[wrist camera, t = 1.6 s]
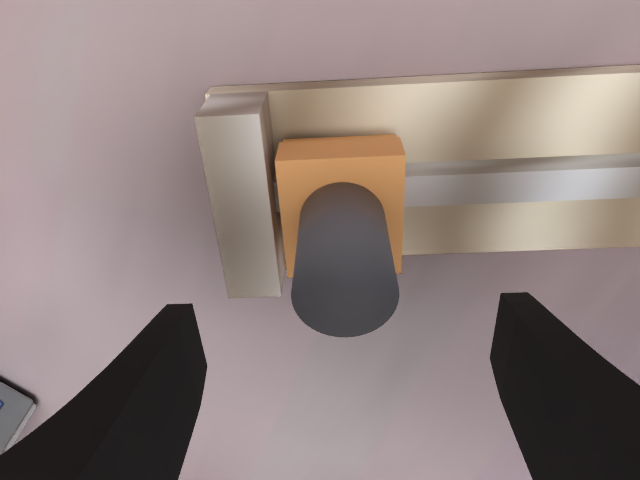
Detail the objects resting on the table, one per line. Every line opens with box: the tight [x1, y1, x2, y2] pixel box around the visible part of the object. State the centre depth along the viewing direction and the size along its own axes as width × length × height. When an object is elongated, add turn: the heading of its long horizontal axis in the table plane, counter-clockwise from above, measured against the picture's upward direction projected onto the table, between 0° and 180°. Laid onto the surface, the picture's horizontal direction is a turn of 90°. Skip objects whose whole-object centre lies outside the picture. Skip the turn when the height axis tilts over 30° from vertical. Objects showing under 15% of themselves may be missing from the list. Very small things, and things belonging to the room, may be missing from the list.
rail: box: [194, 65, 640, 298], centre depth 18 cm, size 20×7×4 cm, turn 93°
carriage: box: [275, 134, 406, 337], centre depth 16 cm, size 4×4×7 cm
